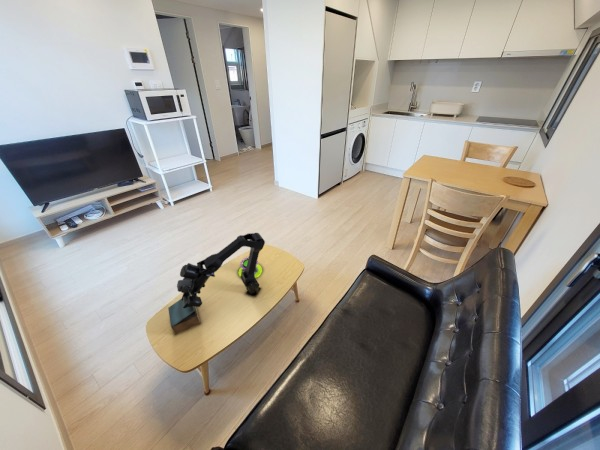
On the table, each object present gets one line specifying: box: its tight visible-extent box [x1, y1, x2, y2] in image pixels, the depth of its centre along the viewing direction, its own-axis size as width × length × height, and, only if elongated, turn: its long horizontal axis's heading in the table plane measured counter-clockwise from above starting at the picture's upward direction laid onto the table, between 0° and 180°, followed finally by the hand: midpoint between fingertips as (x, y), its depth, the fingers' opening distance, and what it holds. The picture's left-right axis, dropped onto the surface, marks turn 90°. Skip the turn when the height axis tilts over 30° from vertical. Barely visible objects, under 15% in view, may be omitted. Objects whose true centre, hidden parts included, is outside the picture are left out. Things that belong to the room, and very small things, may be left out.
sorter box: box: [171, 307, 201, 335], centre depth 123 cm, size 12×12×6 cm
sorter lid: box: [167, 295, 195, 328], centre depth 118 cm, size 13×12×4 cm
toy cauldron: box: [238, 255, 263, 279], centre depth 151 cm, size 15×15×11 cm
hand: (183, 303), depth 118 cm, fingers closed on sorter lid, 5 cm apart
